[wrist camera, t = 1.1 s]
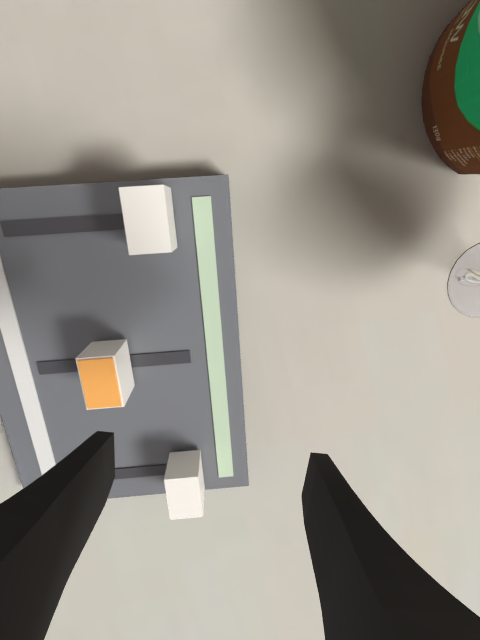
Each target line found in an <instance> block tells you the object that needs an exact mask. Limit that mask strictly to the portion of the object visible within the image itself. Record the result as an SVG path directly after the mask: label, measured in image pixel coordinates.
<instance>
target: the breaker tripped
mask: <svg viewBox="0 0 480 640" xmlns="http://www.w3.org/2000/svg"><path fill="white" fill-rule="evenodd" d="M75 359H76V364H77V368H78V373H79V377H80V382H81V386H82V391H83V395H84V400H85V404H86V409H87V410H91V409H103V408H115V407H124V406H125V404H126V402H127V400H128V398H129V396H130V394H131V392H132V390H133V388H134V386H135V384H134V378H133V372H132V367H131V361H130V355H129V349H128V343H127V339H121V340H108V341H95V342H91V343H90V344H89V345H88V346H87V347H86V348H85V349H84V350H83V351H82V352H81V353H80V354H79V355H78V356H77V357H76V358H75Z"/></svg>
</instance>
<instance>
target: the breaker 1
mask: <svg viewBox="0 0 480 640" xmlns="http://www.w3.org/2000/svg"><path fill="white" fill-rule="evenodd" d="M119 194H120V200H121V207H122V213H123V220H124V226H125V232H126V239H127V245H128V252H129V255H140V254H155V253H169V252H173V251H174V250H175V249H176V248H177V238H176V229H175V220H174V211H173V203H172V194H171V188H170V187H168V186H166V185H148V186H132V187H119Z"/></svg>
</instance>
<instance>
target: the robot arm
mask: <svg viewBox="0 0 480 640" xmlns="http://www.w3.org/2000/svg"><path fill="white" fill-rule="evenodd" d="M114 479H115V450H114V432H104V431H96V432H95V433H94V434H93V435H91V436H90V437H89V438H88V439H86V440H85V441H84V442H83V443H82V444H80V445H79V446H78V447H77V448H76V449H74V450H73V451H72V452H71V453H70V454H68V455H67V456H66V457H65V458H63V459H62V460H61V461H60V462H58V463H57V464H56V465H55V466H53V467H52V468H51V469H49V470H48V471H47V472H46V473H44V474H43V475H42V476H40V477H39V478H37V479H36V480H35V481H33V482H32V483H31V484H29V485H28V486H26V487H25V488H24V489H22V490H21V491H19V492H18V493H16V494H15V495H13V496H12V497H10V498H9V499H7V500H6V501H4V502H3V503H1V504H0V640H44V638H45V635H46V633H47V630H48V628H49V625H50V622H51V620H52V617H53V615H54V612H55V610H56V607H57V605H58V602H59V600H60V597H61V595H62V592H63V590H64V587H65V585H66V583H67V581H68V578H69V576H70V574H71V572H72V570H73V568H74V566H75V564H76V562H77V560H78V558H79V556H80V554H81V552H82V550H83V548H84V546H85V544H86V542H87V540H88V538H89V536H90V534H91V532H92V530H93V528H94V526H95V524H96V522H97V520H98V518H99V516H100V514H101V512H102V510H103V508H104V506H105V503H106V501H107V498H108V495H109V493H110V490H111V487H112V484H113V481H114ZM302 506H303V516H304V525H305V530H306V535H307V540H308V545H309V550H310V554H311V559H312V564H313V569H314V573H315V578H316V583H317V588H318V592H319V598H320V603H321V609H322V617H323V625H324V633H325V640H480V617H479V616H477V615H476V614H475V613H474V612H472V611H471V610H470V609H469V608H467V607H466V606H465V605H464V604H463V603H461V602H460V601H459V600H458V599H456V598H455V597H454V596H453V595H452V594H450V593H449V592H448V591H447V590H446V589H445V588H443V587H442V586H441V585H440V584H439V583H438V582H437V581H435V580H434V579H433V578H432V577H431V576H430V575H429V574H428V573H427V572H426V571H425V570H423V569H422V568H421V567H420V566H419V565H418V564H417V563H416V562H415V561H414V560H413V559H412V558H411V557H410V556H409V555H408V554H407V553H406V552H405V551H404V550H403V549H402V548H401V547H400V546H399V545H398V544H397V543H396V542H395V541H394V540H393V539H392V537H391V536H390V535H389V534H388V533H387V532H386V531H385V530H384V529H383V527H382V526H381V525H380V524H379V523H378V521H377V520H376V519H375V518H374V517H373V516H372V514H371V513H370V512H369V511H368V509H367V508H366V507H365V505H364V504H363V503H362V502H361V500H360V499H359V498H358V496H357V495H356V494H355V492H354V491H353V490H352V488H351V487H350V485H349V484H348V483H347V481H346V480H345V478H344V477H343V476H342V474H341V473H340V471H339V470H338V468H337V467H336V466H335V464H334V463H333V461H332V460H331V458H330V457H329V456H328V454H320V453H311V454H310V459H309V463H308V468H307V473H306V477H305V482H304V486H303V491H302Z"/></svg>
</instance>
